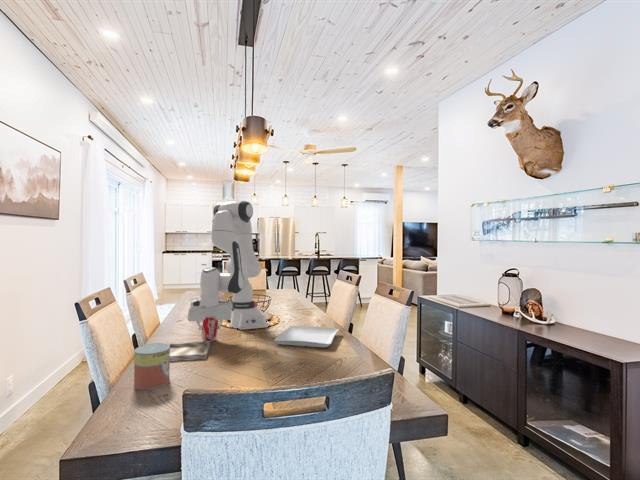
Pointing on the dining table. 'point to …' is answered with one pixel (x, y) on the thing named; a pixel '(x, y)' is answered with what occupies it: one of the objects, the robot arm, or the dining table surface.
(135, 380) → the canned food
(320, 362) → the dining table surface
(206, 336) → the soda can
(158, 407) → the dining table surface
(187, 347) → the square tray
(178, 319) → the dining table surface
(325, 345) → the square plate
